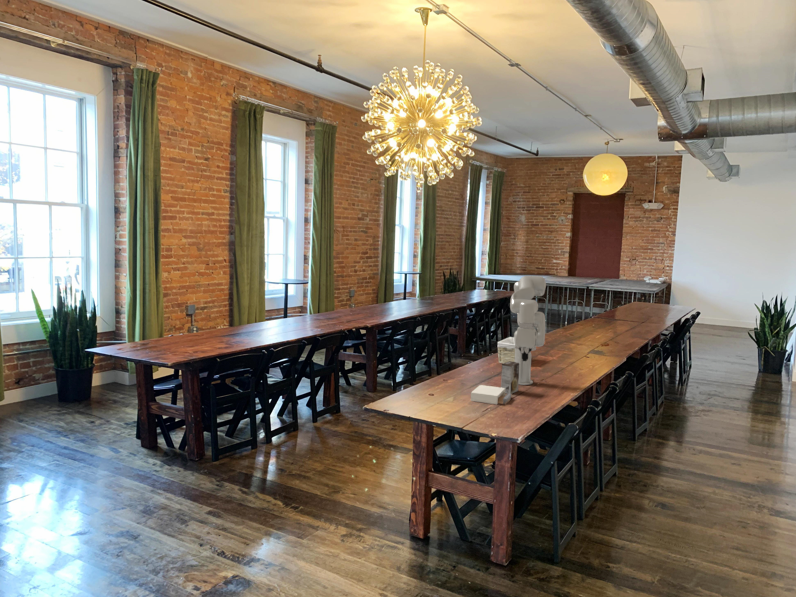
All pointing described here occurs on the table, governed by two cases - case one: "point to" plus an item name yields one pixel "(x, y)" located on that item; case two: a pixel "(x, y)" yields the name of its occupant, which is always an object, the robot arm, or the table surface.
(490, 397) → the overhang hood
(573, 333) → the table surface
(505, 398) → the tan flat board
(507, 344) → the storage basket
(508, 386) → the coffee box
